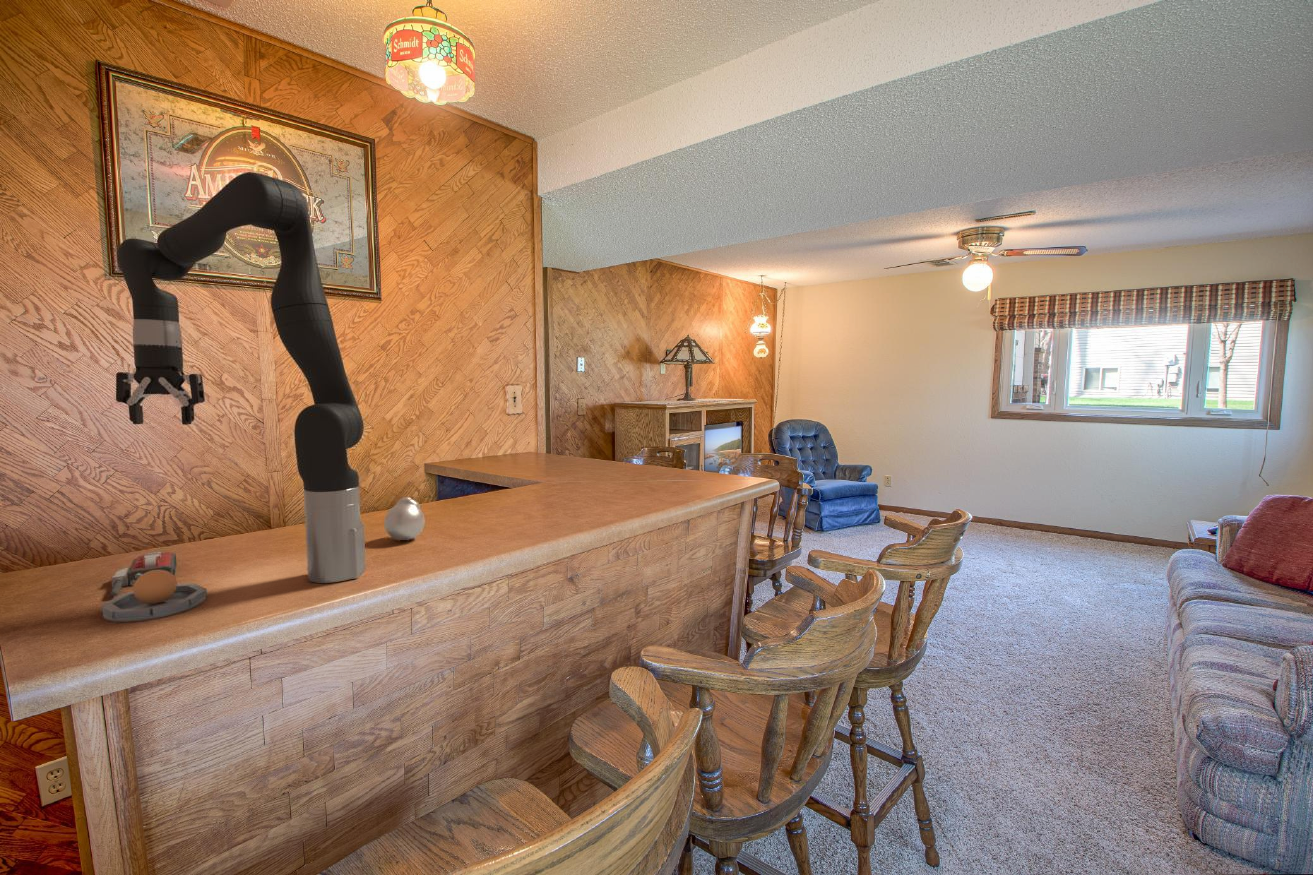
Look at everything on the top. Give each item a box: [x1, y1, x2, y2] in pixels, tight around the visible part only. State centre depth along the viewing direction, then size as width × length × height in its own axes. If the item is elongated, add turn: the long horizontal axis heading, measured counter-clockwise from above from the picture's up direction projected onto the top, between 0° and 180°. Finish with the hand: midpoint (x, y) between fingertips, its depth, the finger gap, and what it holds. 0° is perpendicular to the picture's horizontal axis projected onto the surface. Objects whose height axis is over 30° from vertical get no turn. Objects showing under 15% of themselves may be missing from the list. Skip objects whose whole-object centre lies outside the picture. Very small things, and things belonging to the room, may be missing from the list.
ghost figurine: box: [383, 496, 426, 541], centre depth 139 cm, size 9×10×10 cm
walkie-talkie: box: [109, 551, 177, 597], centre depth 110 cm, size 9×4×20 cm
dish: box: [101, 582, 208, 623], centre depth 97 cm, size 13×13×2 cm
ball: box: [132, 570, 178, 604], centre depth 97 cm, size 6×6×6 cm
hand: (162, 424), depth 119 cm, fingers open, 8 cm apart
